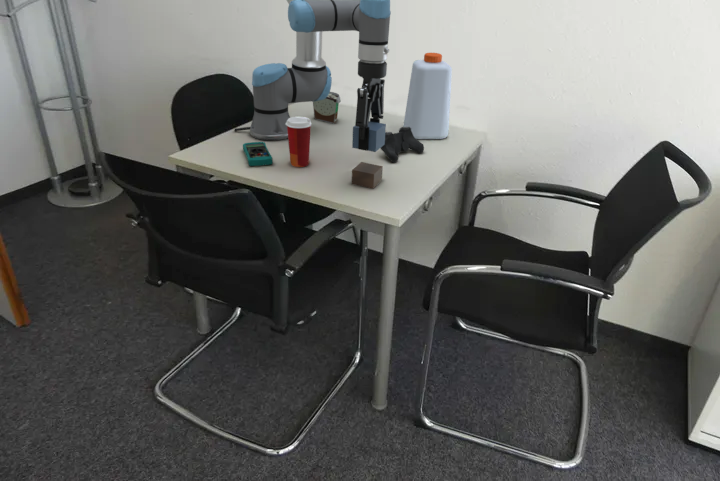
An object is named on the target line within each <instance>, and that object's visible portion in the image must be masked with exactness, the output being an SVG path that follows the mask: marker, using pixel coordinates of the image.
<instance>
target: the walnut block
mask: <svg viewBox="0 0 720 481" xmlns="http://www.w3.org/2000/svg"><path fill="white" fill-rule="evenodd" d="M383 169H384V167H383V165H379V164H374V163H370V162H369V163H368V162H363V161H361V162H359V163H358V164H357V165H356V166H355V167H353V168H352V169H351V185H353V186H359V187H363V188H368V189H372V190H373V189H375V188H376V187H377V186H378V185H379V184H380V183H381V182H382V181H383V171H384V170H383Z"/></svg>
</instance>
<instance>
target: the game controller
mask: <svg viewBox="0 0 720 481" xmlns="http://www.w3.org/2000/svg"><path fill="white" fill-rule="evenodd" d="M380 150H381V151H382V152H383V153H384V155H385V156H386V157H387V159H388V160H389V161H390V162H391V163H397V162H398V161H399V156H398V154H400V153H403V152H407V151H409V150H411V151H413V152H415V153H417V154H423V153H424V152H425V146H424V143H422V142H421V141H419V140H418V139H416V138H415V137H414V136H413V133H412V131H411V128H410V127H403V126H402V127H399V130H398V132H396V133H393V131H385V145H383V146H382V147H381V148H380Z"/></svg>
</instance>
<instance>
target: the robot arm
mask: <svg viewBox="0 0 720 481" xmlns="http://www.w3.org/2000/svg"><path fill="white" fill-rule="evenodd" d="M286 2H287V3H288V7H287V18H288V19H287V20H288V22H289V27H290V28H291V30H292V31H294V32H296V34H295V36H296V38H295V39H296V40H295V45H296V46H295V47H296V48H295V50H296V51H295V57H294V58H292V60H291V67H288V66H287V64H285V63H280V62H278V63H275V62H271V63H266V64H262V65H258V66H257V67H255V68H254V70H253V71H252V76H251V77H252V78H251V79H252V80H251V81H252V82H251V85H252V98H253V110H254V112H253V116H252V120H251V124H250V126H244V127H236V128H234V129H233V130H234V132H241V131H250V132H249V133H250V136H251V137H252V138H255V139H257V140H262V141H281V140H282V141H283V140H286V139H287V140H288V130H287V125H286V122H287V120H288V119H289V118H291V116H290V113H289V104H294V103H295V104H296V103H297V104H298V103H308V102H312V103H313V102H315V101H318V100H324V99H325V98H326V97H327V96H328V95H329V92H331V88H332V80H333V79H332V72H331V69H330V67H329V66H327V63H326V61H325V60H324V59H323V54H322V53H323V32H346V31H347V32H349V31H350V32H351V31H355V32H358V47H357V48H358V49H357V50H358V51H357V52H358V54H357V59H358V60H359V61H357V75H358V76H359V77H360V78H361V79H362V83H361V84H362V85H361V88H360V87H358V88H357V90H356V94H357V95H356V96H357V99H356V114H355V122H354V124H355V125H356V126H358V127H359V142H358V149H357V150H361V151H366V152H369V151H368V146H369V127H368V123H369V121H371V122H377V123H381V120H383V119H384V106H385V104H384V101H385V100H384V98H385V82H386V80H385V77H387V69H388V63H387V60H388V53H390V49H389V34H390V23H391V22H390V21H391V12H392V11H391V0H286ZM383 78H384V79H383ZM355 125H354V126H355Z"/></svg>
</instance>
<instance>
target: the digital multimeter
mask: <svg viewBox="0 0 720 481" xmlns="http://www.w3.org/2000/svg"><path fill="white" fill-rule="evenodd" d="M242 150H243V152H244V155H245V157H246V159H247V163H248V166H250V167H261V166H271V165H272V164H274V159H273V156H272V155H271V153H270V151H269V149H268V147H267V144H266V142H265V141H252V142H244V143H243V144H242Z"/></svg>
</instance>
